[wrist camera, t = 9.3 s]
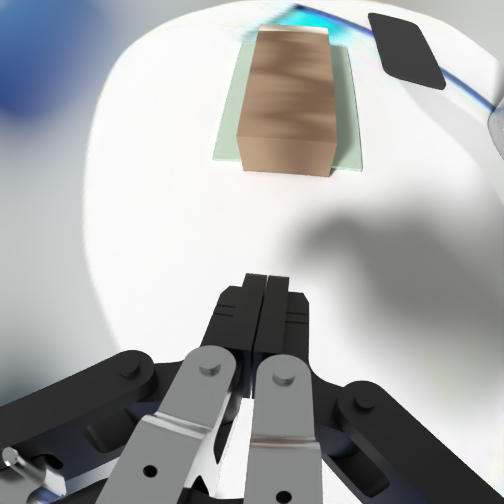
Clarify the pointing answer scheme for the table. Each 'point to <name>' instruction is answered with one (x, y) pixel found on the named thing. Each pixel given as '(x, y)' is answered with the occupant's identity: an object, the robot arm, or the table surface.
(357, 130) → the green mat
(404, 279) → the table surface
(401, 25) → the phone
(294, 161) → the walnut block
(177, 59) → the table surface
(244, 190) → the table surface
